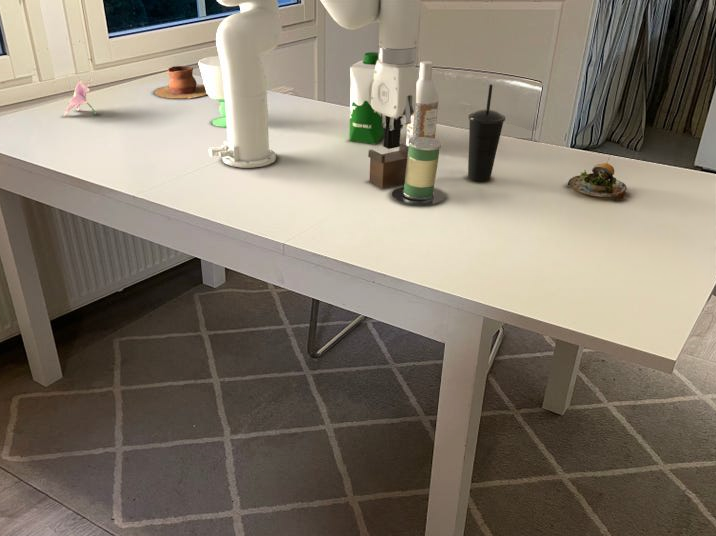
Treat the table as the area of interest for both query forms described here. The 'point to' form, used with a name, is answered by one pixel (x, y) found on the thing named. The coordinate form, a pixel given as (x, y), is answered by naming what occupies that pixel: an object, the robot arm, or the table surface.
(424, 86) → the bath foam
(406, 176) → the can
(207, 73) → the cup
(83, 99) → the lily
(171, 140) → the table surface
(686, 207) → the table surface
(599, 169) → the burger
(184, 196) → the table surface
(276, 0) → the robot arm
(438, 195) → the coaster
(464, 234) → the table surface
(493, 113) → the drinking cup
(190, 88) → the ceramic pot
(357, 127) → the milk carton
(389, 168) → the rest
